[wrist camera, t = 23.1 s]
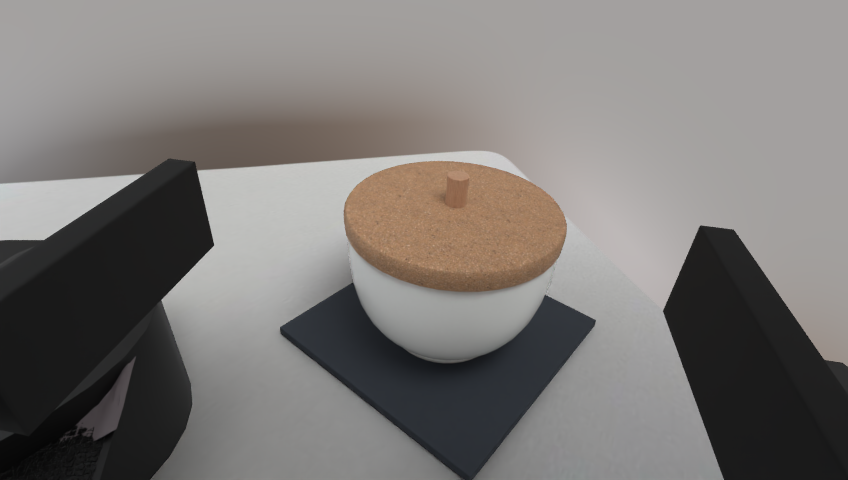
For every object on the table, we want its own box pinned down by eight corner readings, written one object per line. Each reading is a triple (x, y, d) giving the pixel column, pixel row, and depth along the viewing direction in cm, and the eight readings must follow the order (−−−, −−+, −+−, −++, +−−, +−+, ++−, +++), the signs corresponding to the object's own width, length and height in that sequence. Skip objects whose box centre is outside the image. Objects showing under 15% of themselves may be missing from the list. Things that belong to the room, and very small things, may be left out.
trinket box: (392, 252, 33) (395, 120, 28) (548, 291, 31) (583, 153, 25) (313, 362, 25) (295, 203, 19) (520, 429, 22) (564, 265, 17)
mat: (594, 326, 29) (596, 319, 29) (469, 484, 20) (470, 477, 20) (427, 241, 35) (428, 235, 35) (280, 333, 27) (279, 327, 27)
